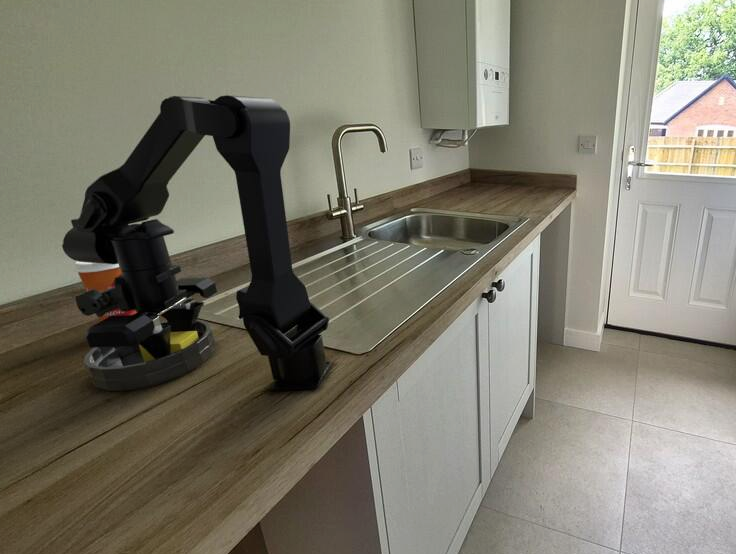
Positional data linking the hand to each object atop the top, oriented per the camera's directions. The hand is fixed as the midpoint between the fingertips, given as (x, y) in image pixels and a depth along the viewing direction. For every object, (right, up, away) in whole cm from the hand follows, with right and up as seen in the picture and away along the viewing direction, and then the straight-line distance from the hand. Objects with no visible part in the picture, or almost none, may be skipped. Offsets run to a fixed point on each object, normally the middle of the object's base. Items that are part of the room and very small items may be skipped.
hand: (174, 356), depth 66 cm
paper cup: (-19, +2, +12) cm, 22 cm away
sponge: (0, -1, 0) cm, 1 cm away
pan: (-3, -1, 0) cm, 3 cm away
